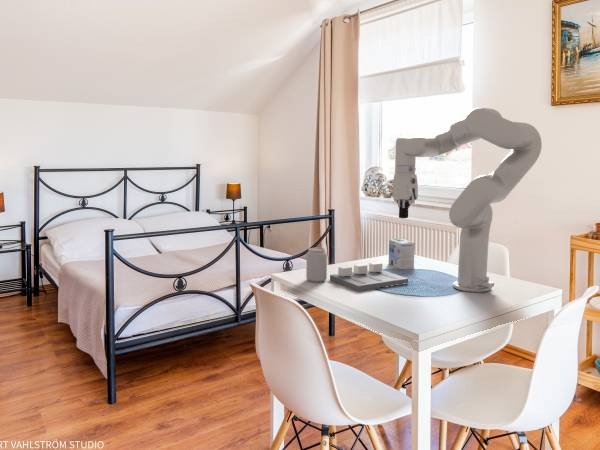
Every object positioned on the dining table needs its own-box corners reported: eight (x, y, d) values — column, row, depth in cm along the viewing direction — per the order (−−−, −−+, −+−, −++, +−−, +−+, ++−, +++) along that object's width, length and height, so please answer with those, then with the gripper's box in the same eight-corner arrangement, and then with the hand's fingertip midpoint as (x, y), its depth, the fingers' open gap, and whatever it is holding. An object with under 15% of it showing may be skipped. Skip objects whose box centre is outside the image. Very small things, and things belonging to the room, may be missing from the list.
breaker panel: (408, 283, 189) (408, 269, 188) (358, 291, 178) (358, 276, 177) (377, 273, 204) (377, 260, 204) (329, 280, 194) (330, 266, 193)
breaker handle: (367, 273, 195) (367, 265, 195) (358, 274, 193) (358, 266, 193) (362, 271, 198) (362, 263, 197) (353, 272, 196) (353, 264, 195)
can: (315, 284, 188) (315, 251, 186) (302, 280, 194) (302, 248, 192) (330, 280, 193) (331, 249, 191) (317, 277, 198) (317, 246, 197)
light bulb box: (387, 264, 222) (388, 239, 220) (402, 263, 224) (402, 238, 222) (399, 269, 212) (400, 243, 210) (414, 268, 214) (415, 242, 212)
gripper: (426, 170, 194) (424, 219, 196) (399, 169, 206) (398, 215, 209) (410, 171, 190) (408, 220, 193) (384, 169, 203) (383, 216, 205)
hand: (403, 217), depth 201 cm, fingers closed
